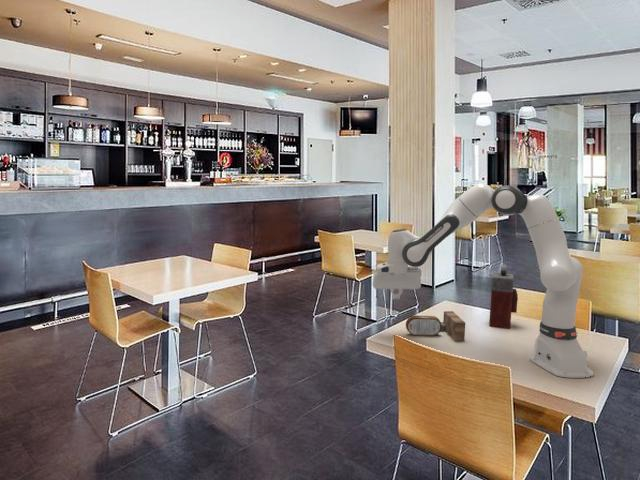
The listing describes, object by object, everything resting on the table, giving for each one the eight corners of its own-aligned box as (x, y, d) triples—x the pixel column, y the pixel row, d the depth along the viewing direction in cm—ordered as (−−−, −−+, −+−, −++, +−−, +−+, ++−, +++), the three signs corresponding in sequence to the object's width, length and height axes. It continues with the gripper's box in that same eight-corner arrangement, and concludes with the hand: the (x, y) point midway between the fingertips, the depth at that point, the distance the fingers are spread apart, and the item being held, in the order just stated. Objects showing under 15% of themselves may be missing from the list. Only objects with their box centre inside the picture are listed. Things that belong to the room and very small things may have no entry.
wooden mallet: (464, 341, 201) (465, 322, 200) (419, 341, 200) (419, 323, 199) (451, 328, 217) (452, 311, 216) (409, 328, 216) (410, 311, 215)
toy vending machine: (515, 329, 216) (520, 268, 212) (489, 326, 220) (493, 266, 216) (515, 323, 225) (520, 264, 220) (490, 320, 229) (494, 262, 224)
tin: (440, 334, 210) (441, 315, 208) (441, 336, 206) (442, 317, 205) (405, 333, 210) (405, 314, 209) (406, 336, 207) (407, 317, 206)
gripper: (419, 265, 208) (418, 296, 211) (372, 265, 207) (371, 296, 209) (423, 268, 202) (422, 301, 204) (375, 268, 201) (373, 300, 203)
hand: (396, 298), depth 207 cm, fingers closed
